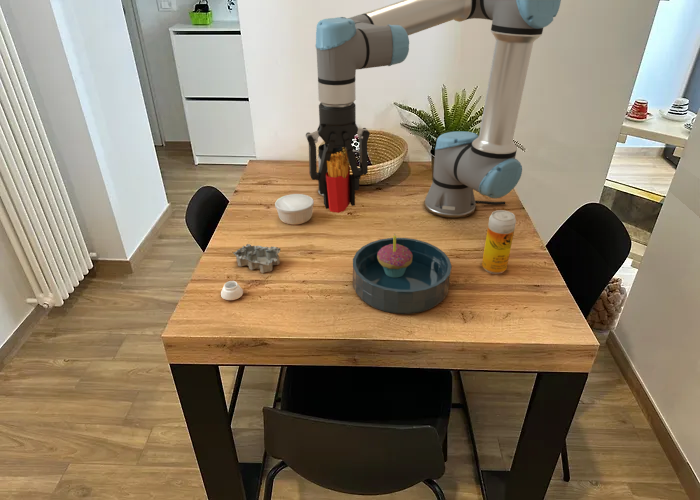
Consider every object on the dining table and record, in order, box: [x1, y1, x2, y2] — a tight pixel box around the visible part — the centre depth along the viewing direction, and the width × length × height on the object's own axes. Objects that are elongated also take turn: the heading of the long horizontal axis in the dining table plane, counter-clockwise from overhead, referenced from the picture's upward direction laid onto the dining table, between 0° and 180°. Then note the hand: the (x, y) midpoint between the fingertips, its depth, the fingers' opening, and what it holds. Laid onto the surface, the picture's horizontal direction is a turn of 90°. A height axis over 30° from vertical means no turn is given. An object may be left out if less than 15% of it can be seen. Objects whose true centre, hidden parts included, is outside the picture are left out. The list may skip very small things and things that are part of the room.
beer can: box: [481, 209, 517, 275], centre depth 120 cm, size 6×6×15 cm
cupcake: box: [377, 233, 413, 278], centre depth 119 cm, size 9×8×12 cm
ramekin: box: [274, 193, 315, 226], centre depth 146 cm, size 11×11×5 cm
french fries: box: [326, 151, 351, 214], centre depth 111 cm, size 8×4×12 cm, turn 160°
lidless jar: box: [220, 280, 244, 301], centre depth 115 cm, size 5×3×5 cm
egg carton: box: [232, 243, 282, 274], centre depth 126 cm, size 11×8×4 cm
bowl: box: [352, 237, 453, 315], centre depth 117 cm, size 23×23×6 cm
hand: (339, 204), depth 114 cm, fingers closed on french fries, 5 cm apart
